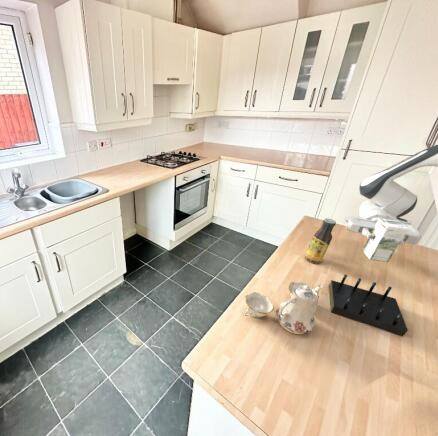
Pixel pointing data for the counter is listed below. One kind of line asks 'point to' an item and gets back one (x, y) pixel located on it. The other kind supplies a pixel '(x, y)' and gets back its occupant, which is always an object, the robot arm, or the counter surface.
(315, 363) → the counter surface
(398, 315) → the dish rack
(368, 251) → the syrup box
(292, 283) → the chinaware
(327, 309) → the counter surface
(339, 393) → the counter surface
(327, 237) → the sauce bottle
